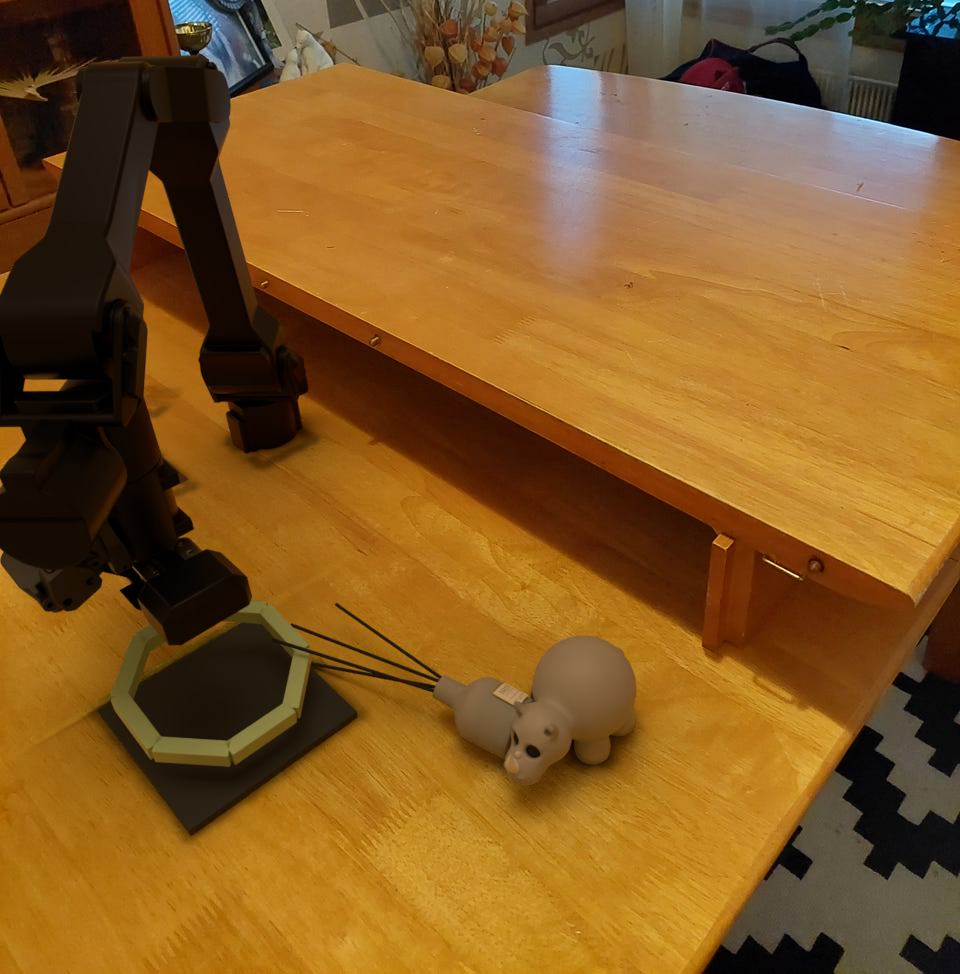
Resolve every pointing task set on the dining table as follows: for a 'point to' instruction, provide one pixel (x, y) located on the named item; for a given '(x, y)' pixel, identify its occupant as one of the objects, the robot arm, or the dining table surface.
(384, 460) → the dining table surface
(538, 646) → the dining table surface
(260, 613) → the ring
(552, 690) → the round bodied animal figurine
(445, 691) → the reed diffuser
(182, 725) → the mat
